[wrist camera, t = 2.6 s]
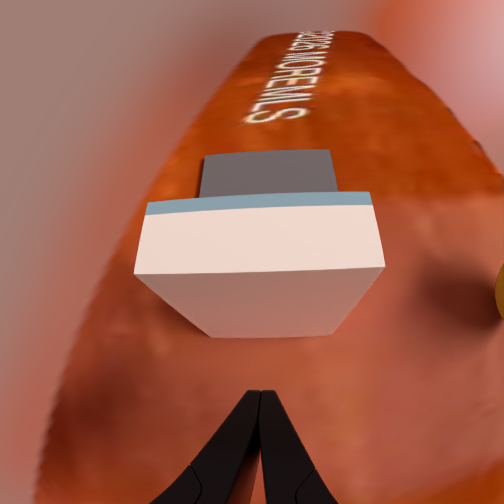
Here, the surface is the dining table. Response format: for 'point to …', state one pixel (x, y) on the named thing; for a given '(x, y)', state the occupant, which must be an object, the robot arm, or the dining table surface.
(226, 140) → the dining table surface
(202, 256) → the white rectangular block
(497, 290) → the lemon
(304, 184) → the mat
